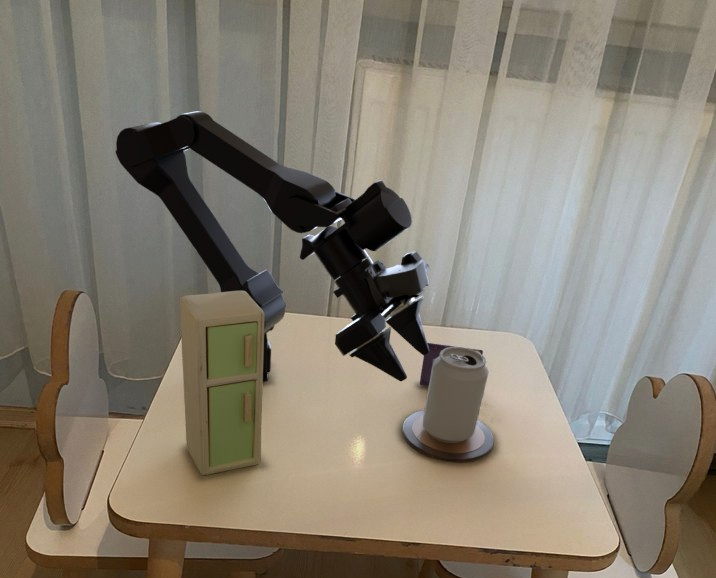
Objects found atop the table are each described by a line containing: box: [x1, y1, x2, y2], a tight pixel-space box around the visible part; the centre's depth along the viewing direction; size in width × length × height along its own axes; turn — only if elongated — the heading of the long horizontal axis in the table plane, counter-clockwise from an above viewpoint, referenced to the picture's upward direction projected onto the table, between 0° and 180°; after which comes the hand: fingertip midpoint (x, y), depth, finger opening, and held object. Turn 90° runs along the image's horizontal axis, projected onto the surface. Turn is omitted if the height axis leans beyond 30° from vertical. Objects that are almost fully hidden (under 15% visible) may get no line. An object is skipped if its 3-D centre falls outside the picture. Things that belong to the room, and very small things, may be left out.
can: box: [422, 346, 489, 443], centre depth 98 cm, size 8×8×12 cm
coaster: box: [401, 409, 494, 463], centre depth 101 cm, size 13×13×1 cm
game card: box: [419, 342, 484, 387], centre depth 113 cm, size 7×5×9 cm
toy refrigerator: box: [179, 291, 264, 476], centre depth 85 cm, size 8×7×21 cm
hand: (415, 366), depth 98 cm, fingers open, 9 cm apart
